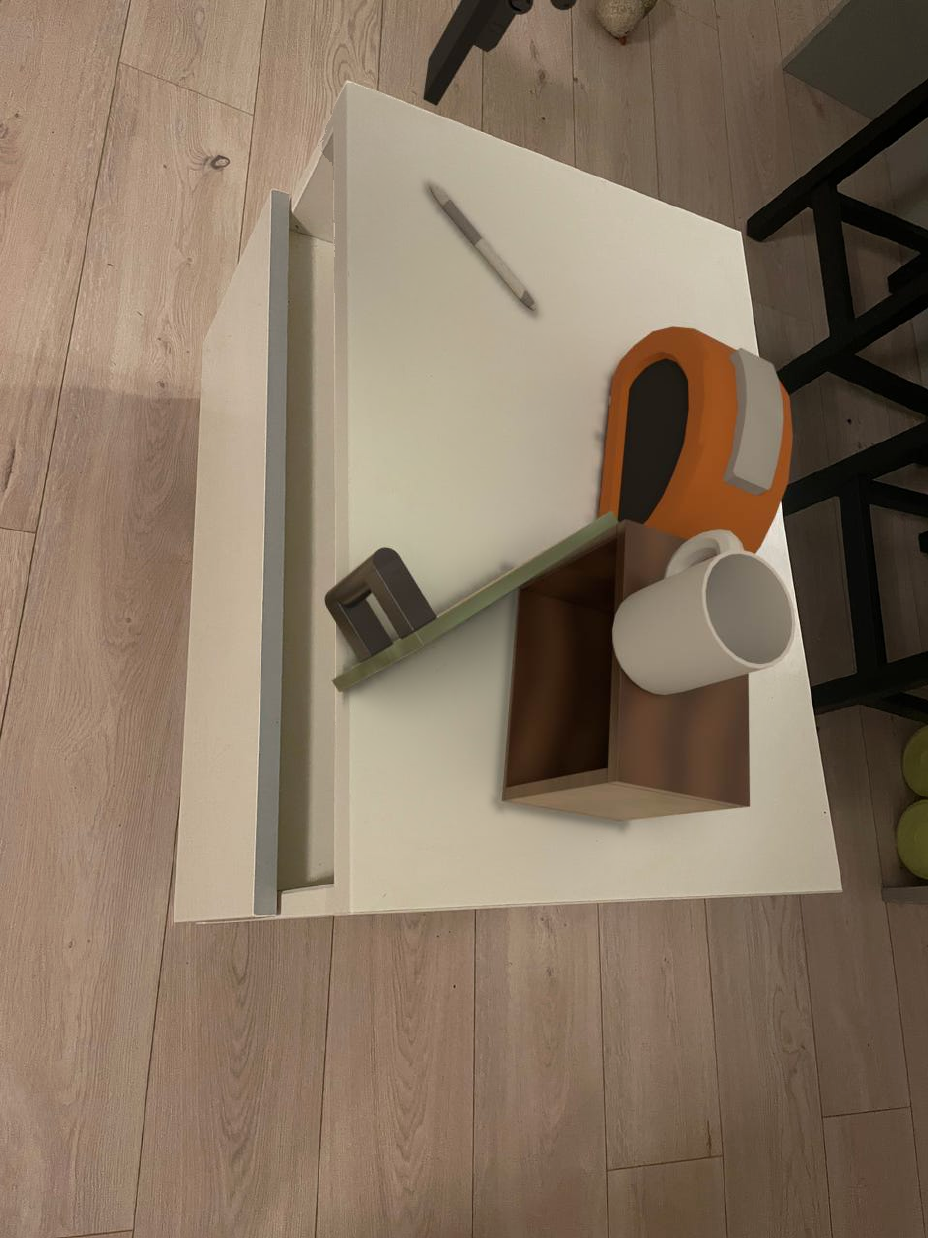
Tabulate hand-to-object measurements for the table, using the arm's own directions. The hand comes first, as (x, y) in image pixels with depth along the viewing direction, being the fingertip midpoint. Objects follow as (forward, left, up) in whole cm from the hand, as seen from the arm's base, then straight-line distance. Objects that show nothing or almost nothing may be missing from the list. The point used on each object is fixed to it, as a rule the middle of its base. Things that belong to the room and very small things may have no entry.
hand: (302, 15), depth 43 cm
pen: (-18, +23, -29) cm, 41 cm away
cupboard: (+21, +35, -29) cm, 50 cm away
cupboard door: (+16, +20, -29) cm, 38 cm away
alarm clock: (0, +41, -29) cm, 50 cm away
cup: (+19, +32, -14) cm, 40 cm away
